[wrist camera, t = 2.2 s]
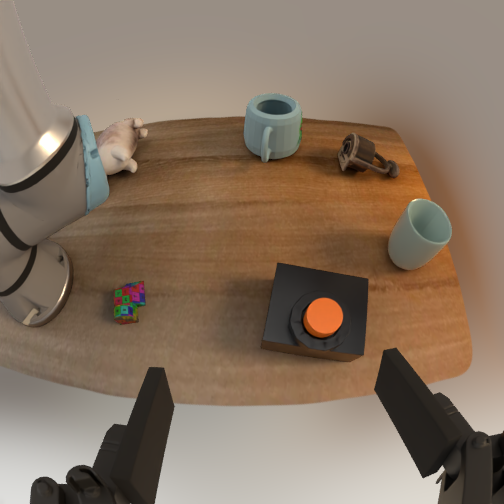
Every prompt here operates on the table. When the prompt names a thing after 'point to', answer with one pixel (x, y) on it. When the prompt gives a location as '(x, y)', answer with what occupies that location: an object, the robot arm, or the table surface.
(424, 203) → the cup
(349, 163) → the grey machine part
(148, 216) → the table surface
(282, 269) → the control block
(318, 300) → the button
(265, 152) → the mug
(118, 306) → the block
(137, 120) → the toy
